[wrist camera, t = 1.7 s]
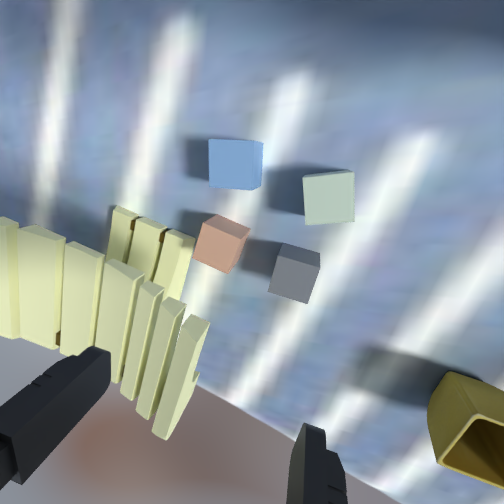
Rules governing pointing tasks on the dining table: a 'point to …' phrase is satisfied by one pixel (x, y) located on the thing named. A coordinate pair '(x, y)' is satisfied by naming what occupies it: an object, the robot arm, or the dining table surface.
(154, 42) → the dining table surface
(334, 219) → the sage block
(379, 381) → the dining table surface
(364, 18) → the dining table surface
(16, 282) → the slatted curved stool
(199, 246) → the terracotta block
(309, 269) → the charcoal block
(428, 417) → the flower pot
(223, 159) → the blue block
